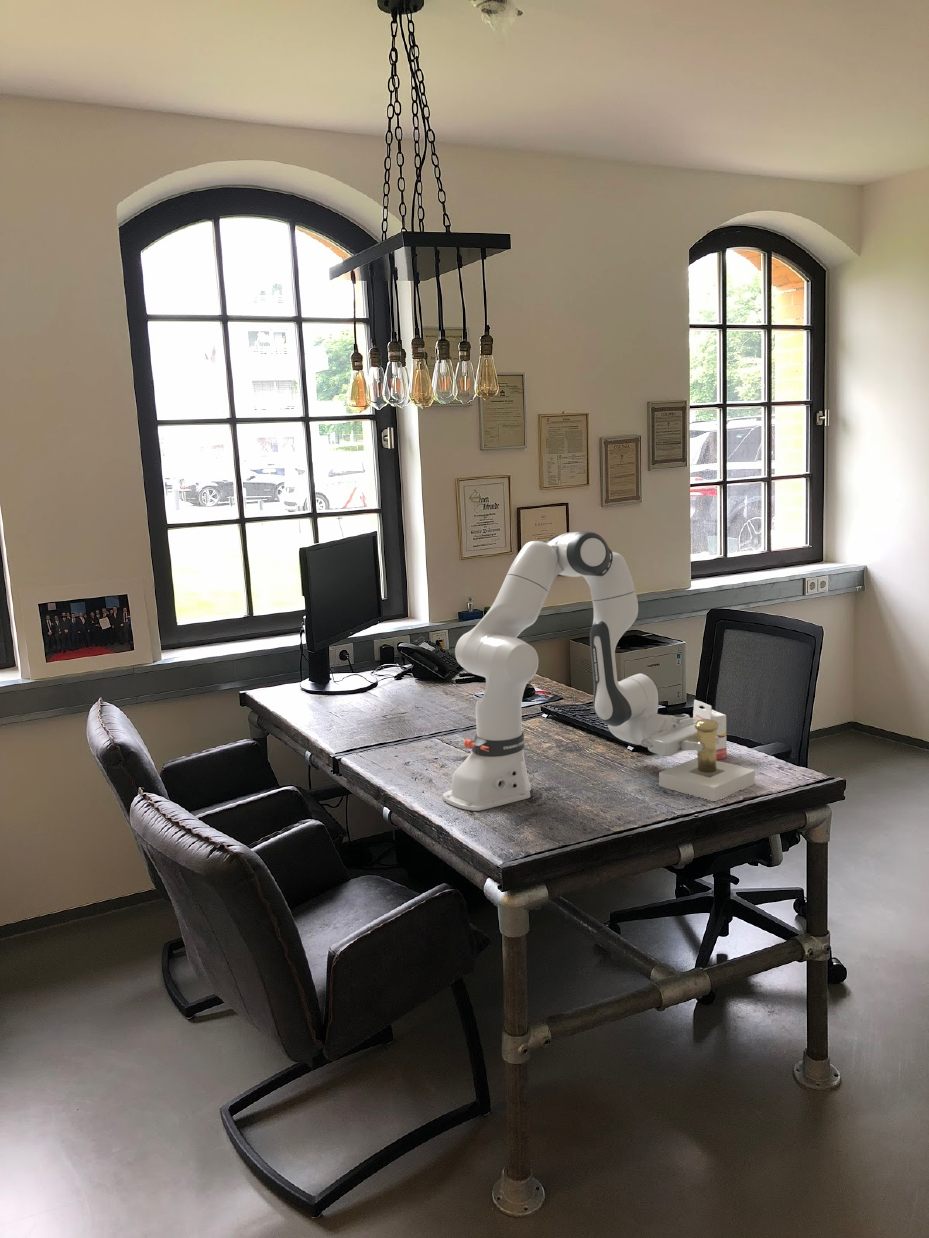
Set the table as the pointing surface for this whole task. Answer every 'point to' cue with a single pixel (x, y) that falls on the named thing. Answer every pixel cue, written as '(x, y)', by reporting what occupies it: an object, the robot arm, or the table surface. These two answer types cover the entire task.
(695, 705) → the ink cartridge box
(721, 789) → the socket block
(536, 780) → the table surface
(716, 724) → the brass fitting
